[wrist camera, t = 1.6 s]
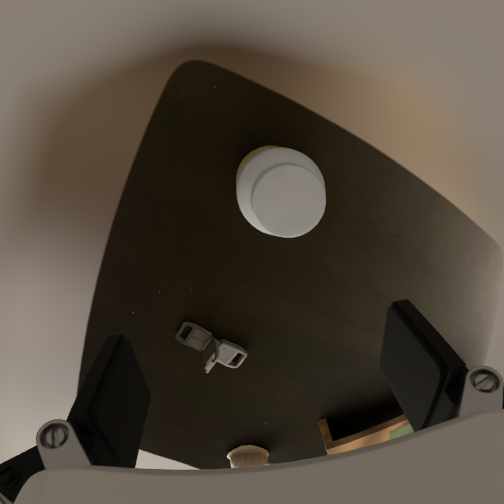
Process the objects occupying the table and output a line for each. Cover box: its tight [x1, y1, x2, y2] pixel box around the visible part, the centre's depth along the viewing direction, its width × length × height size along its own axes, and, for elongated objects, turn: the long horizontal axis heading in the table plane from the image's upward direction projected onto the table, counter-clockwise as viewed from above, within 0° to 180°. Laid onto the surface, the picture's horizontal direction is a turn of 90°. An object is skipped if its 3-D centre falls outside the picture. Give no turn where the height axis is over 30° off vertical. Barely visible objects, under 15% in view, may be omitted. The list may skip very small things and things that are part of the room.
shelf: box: [318, 414, 414, 455], centre depth 40 cm, size 24×12×9 cm, turn 108°
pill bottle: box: [236, 146, 326, 237], centre depth 25 cm, size 6×6×12 cm
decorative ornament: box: [227, 445, 274, 468], centre depth 43 cm, size 4×8×5 cm, turn 89°
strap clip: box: [176, 322, 247, 373], centre depth 35 cm, size 8×3×4 cm, turn 57°
